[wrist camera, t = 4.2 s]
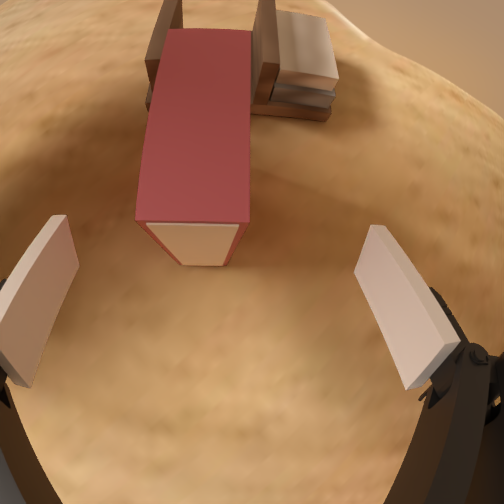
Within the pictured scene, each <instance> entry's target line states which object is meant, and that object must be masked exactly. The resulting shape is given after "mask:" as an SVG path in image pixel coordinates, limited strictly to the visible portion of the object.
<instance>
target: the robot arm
mask: <svg viewBox="0 0 504 504" xmlns="http://www.w3.org/2000/svg"><path fill="white" fill-rule="evenodd" d="M79 267H80V264H79V261H78V257H77V254H76V250H75V246H74V243H73V239H72V235H71V231H70V227H69V223H68V218H67V215H52V216H51V218H50V219H49V220H48V221H47V223H46V224H45V225H44V227H43V228H42V229H41V231H40V232H39V233H38V235H37V236H36V237H35V239H34V240H33V242H32V243H31V244H30V246H29V247H28V249H27V250H26V252H25V253H24V254H23V256H22V257H21V259H20V260H19V262H18V263H17V265H16V266H15V268H14V270H13V271H12V273H11V274H10V276H9V277H8V279H3V280H2V281H1V282H0V504H63V503H62V502H61V500H60V498H59V497H58V495H57V493H56V492H55V490H54V488H53V487H52V485H51V483H50V481H49V480H48V478H47V476H46V474H45V472H44V470H43V468H42V466H41V465H40V463H39V461H38V459H37V456H36V454H35V452H34V450H33V448H32V446H31V444H30V442H29V439H28V437H27V435H26V432H25V430H24V428H23V425H22V423H21V420H20V418H19V415H18V412H17V410H16V407H15V404H14V402H13V399H12V396H11V393H10V390H9V387H8V386H7V384H6V383H5V381H6V378H7V375H8V377H9V378H10V379H11V380H12V381H13V382H14V384H16V385H20V386H23V387H27V388H31V387H32V383H33V380H34V377H35V374H36V371H37V368H38V365H39V362H40V359H41V356H42V354H43V351H44V348H45V345H46V343H47V340H48V337H49V335H50V332H51V330H52V327H53V325H54V322H55V320H56V317H57V315H58V312H59V310H60V308H61V305H62V303H63V301H64V299H65V296H66V294H67V292H68V290H69V288H70V285H71V283H72V281H73V279H74V277H75V275H76V273H77V271H78V269H79ZM354 274H355V276H356V278H357V280H358V282H359V284H360V287H361V289H362V291H363V293H364V295H365V297H366V299H367V301H368V303H369V306H370V308H371V310H372V312H373V314H374V316H375V319H376V321H377V323H378V325H379V327H380V330H381V332H382V334H383V337H384V339H385V341H386V343H387V346H388V348H389V350H390V353H391V355H392V358H393V360H394V362H395V365H396V367H397V370H398V372H399V375H400V377H401V380H402V382H403V385H404V387H405V390H409V389H414V388H418V387H421V386H422V385H423V384H424V383H425V382H426V381H427V380H428V379H429V378H430V379H431V382H432V385H431V386H430V387H429V388H428V389H427V390H426V391H425V392H424V393H423V394H422V395H421V396H420V398H419V399H418V400H419V401H421V400H422V399H423V398H424V397H425V396H426V399H425V401H424V405H423V409H422V412H421V415H420V418H419V421H418V424H417V427H416V429H415V432H414V435H413V438H412V440H411V443H410V446H409V448H408V451H407V453H406V456H405V458H404V461H403V463H402V465H401V468H400V470H399V472H398V474H397V477H396V479H395V481H394V483H393V485H392V487H391V490H390V492H389V494H388V496H387V498H386V500H385V502H384V504H504V352H503V353H502V354H501V355H500V356H499V357H497V356H490V355H488V353H487V351H486V350H485V349H484V348H483V347H482V346H480V345H479V344H476V343H469V341H468V339H467V338H466V336H465V334H464V332H463V331H462V329H461V327H460V326H459V324H458V322H457V321H456V319H455V317H454V316H453V315H452V312H451V311H450V309H449V308H447V304H446V303H445V301H444V300H443V298H442V297H441V295H440V294H438V293H437V292H436V291H435V290H434V289H433V288H432V287H428V286H427V284H426V283H425V281H424V280H423V278H422V277H421V275H420V274H419V272H418V271H417V269H416V268H415V266H414V265H413V264H412V262H411V261H410V259H409V258H408V256H407V255H406V254H405V252H404V251H403V249H402V248H401V247H400V245H399V244H398V242H397V241H396V240H395V238H394V237H393V236H392V234H391V233H390V232H389V230H388V229H387V228H386V226H385V225H372V224H371V225H370V228H369V231H368V234H367V237H366V240H365V242H364V245H363V248H362V251H361V254H360V256H359V259H358V262H357V265H356V267H355V270H354ZM499 396H500V399H501V402H500V403H499V404H498V405H497V406H495V402H494V400H496V399H497V398H498V397H499Z"/></svg>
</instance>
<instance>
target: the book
mask: <svg viewBox="0 0 504 504" xmlns="http://www.w3.org/2000/svg"><path fill="white" fill-rule="evenodd" d="M250 79H251V31H246V30H232V29H202V28H189V29H168V32H167V36H166V39H165V43H164V47H163V51H162V55H161V59H160V63H159V67H158V72H157V76H156V80H155V85H154V90H153V95H152V100H151V105H150V110H149V115H148V121H147V127H146V133H145V139H144V145H143V152H142V159H141V167H140V175H139V183H138V192H137V202H136V213H135V221H136V222H137V223H138V224H139V225H140V226H141V227H142V228H143V229H144V230H145V231H146V232H147V233H148V234H149V235H150V236H151V237H152V238H153V239H154V240H155V241H156V242H157V243H158V244H159V245H160V246H161V247H162V248H163V249H164V250H165V251H166V252H167V253H168V254H169V255H170V256H171V257H172V258H173V259H174V260H175V261H176V262H177V263H178V264H179V265H195V266H223V265H227V263H228V261H229V260H230V258H231V256H232V254H233V252H234V250H235V249H236V247H237V245H238V243H239V241H240V239H241V238H242V236H243V234H244V232H245V230H246V228H247V227H248V225H249V223H250Z"/></svg>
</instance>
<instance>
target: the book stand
mask: <svg viewBox="0 0 504 504" xmlns="http://www.w3.org/2000/svg"><path fill="white" fill-rule="evenodd" d="M168 29H183V15H182V0H164V2H163V5H162V7H161V10H160V13H159V16H158V19H157V22H156V25H155V28H154V31H153V34H152V37H151V40H150V44H149V47H148V50H147V54H146V57H145V64H146V68H147V73H148V77H149V81H150V84H149V88H148V93H147V98H146V102H145V103H146V106H147V110H148V112H149V110H150V105H151V100H152V95H153V90H154V85H155V80H156V76H157V72H158V67H159V63H160V59H161V55H162V51H163V47H164V43H165V39H166V36H167V32H168ZM188 29H189V28H188ZM202 29H203V28H202ZM338 80H339V76H338V71H337V66H336V61H335V57H334V52H333V48H332V43H331V39H330V35H329V31H328V27H327V23H326V19H325V18H320V17H316V16H311V15H305V14H300V13H294V12H288V11H281V10H276V6H275V0H259V2H258V7H257V12H256V17H255V21H254V26H253V31H251V79H250V114H262V115H274V116H284V117H293V118H301V119H309V120H317V121H324V122H326V121H327V120H328V118H329V117H330V115H331V114H332V113H331V106H330V104H331V103H332V101H333V100H334V98H335V97H336V95H335V89H334V87H335V85H336V83H337V82H338Z"/></svg>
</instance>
